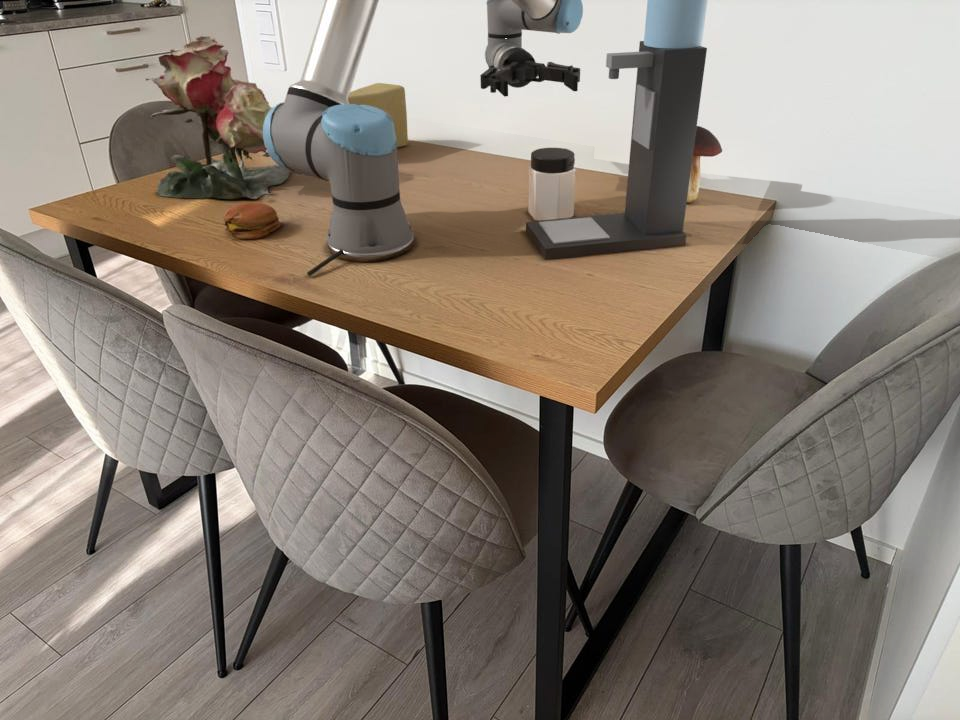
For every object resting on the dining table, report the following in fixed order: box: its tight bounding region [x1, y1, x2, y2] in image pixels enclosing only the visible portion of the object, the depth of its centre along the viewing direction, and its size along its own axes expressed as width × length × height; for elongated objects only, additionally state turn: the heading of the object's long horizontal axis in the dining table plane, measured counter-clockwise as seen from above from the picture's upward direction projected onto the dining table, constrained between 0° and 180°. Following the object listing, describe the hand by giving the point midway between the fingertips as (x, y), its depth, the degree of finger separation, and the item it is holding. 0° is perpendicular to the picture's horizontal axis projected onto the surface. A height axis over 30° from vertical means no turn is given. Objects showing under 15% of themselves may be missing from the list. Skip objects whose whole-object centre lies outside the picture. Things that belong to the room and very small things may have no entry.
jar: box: [527, 147, 577, 221], centre depth 139 cm, size 9×8×12 cm
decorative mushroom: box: [687, 125, 723, 203], centre depth 143 cm, size 11×11×15 cm
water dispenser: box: [525, 0, 708, 260], centre depth 120 cm, size 26×13×45 cm, turn 102°
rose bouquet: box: [145, 35, 291, 200], centre depth 157 cm, size 26×29×30 cm
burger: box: [222, 201, 281, 240], centre depth 137 cm, size 10×9×5 cm
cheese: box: [348, 82, 409, 149], centre depth 178 cm, size 22×10×15 cm, turn 146°
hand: (541, 86), depth 138 cm, fingers open, 13 cm apart
